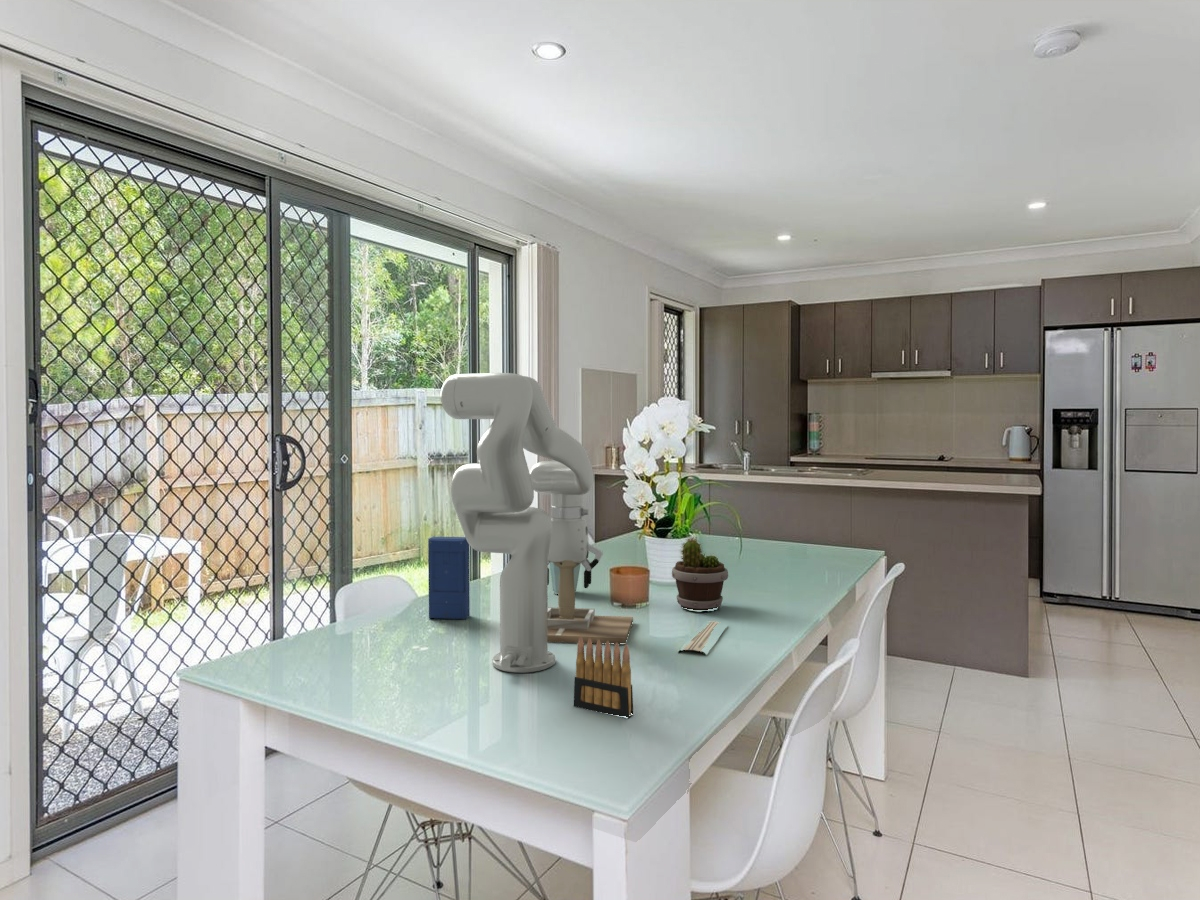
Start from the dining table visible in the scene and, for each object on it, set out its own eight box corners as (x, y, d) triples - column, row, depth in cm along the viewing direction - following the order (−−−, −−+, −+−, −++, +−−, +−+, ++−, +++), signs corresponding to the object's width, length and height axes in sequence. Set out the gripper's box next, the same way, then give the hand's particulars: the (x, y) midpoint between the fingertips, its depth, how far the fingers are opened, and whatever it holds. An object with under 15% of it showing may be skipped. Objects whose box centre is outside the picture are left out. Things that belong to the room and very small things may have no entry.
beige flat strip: (706, 659, 151) (706, 650, 151) (673, 656, 154) (673, 647, 154) (727, 629, 173) (727, 622, 173) (698, 627, 176) (698, 619, 176)
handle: (561, 617, 175) (560, 555, 175) (583, 621, 172) (583, 558, 172) (549, 622, 171) (549, 558, 171) (572, 625, 168) (572, 561, 168)
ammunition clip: (633, 715, 120) (633, 643, 120) (628, 719, 119) (628, 646, 118) (579, 702, 126) (578, 634, 125) (573, 706, 124) (573, 636, 124)
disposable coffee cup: (543, 590, 212) (543, 539, 211) (578, 588, 215) (578, 537, 215) (551, 598, 202) (551, 544, 201) (589, 596, 205) (589, 543, 204)
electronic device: (470, 615, 184) (470, 536, 183) (464, 620, 179) (464, 539, 178) (434, 614, 185) (433, 535, 184) (427, 619, 180) (427, 539, 179)
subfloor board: (625, 645, 159) (625, 629, 159) (527, 640, 162) (527, 625, 162) (632, 623, 177) (632, 608, 177) (544, 619, 180) (544, 605, 180)
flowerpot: (699, 598, 202) (699, 526, 201) (740, 609, 189) (740, 533, 189) (659, 606, 193) (659, 531, 192) (699, 618, 181) (700, 538, 180)
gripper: (605, 512, 173) (604, 584, 173) (534, 511, 176) (533, 582, 176) (600, 516, 166) (600, 590, 166) (526, 514, 168) (526, 588, 168)
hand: (566, 586), depth 171 cm, fingers open, 9 cm apart
